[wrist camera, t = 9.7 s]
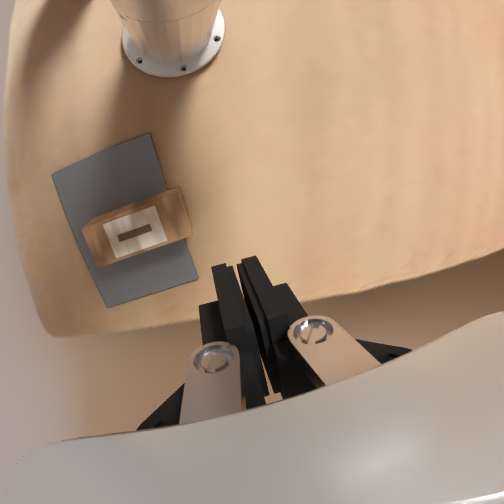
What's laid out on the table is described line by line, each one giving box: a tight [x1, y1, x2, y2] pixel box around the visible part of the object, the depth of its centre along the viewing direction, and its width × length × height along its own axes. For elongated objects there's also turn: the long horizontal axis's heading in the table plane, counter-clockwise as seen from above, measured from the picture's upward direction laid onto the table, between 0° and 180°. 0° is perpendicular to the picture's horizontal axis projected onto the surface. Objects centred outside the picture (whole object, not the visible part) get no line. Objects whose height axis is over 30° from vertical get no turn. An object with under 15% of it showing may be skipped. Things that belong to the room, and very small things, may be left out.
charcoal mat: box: [52, 133, 199, 307], centre depth 38 cm, size 20×14×1 cm
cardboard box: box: [81, 187, 192, 268], centre depth 35 cm, size 5×5×12 cm
